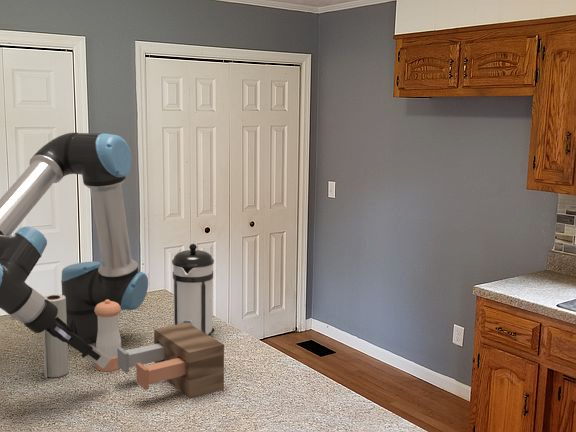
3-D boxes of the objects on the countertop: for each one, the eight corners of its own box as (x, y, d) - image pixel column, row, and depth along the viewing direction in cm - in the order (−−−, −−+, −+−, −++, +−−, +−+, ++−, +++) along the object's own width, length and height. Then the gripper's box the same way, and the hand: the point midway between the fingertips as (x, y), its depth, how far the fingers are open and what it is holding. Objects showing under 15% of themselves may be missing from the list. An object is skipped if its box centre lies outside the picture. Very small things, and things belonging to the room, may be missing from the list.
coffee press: (228, 338, 198) (229, 245, 193) (181, 348, 189) (180, 251, 184) (203, 322, 212) (203, 235, 207) (158, 331, 203) (157, 240, 198)
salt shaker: (111, 359, 180) (109, 294, 177) (128, 365, 176) (126, 299, 173) (90, 367, 174) (87, 300, 171) (107, 373, 170) (105, 305, 167)
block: (154, 371, 173) (154, 329, 171) (187, 363, 179) (187, 322, 177) (189, 398, 157) (188, 352, 155) (223, 388, 163) (224, 344, 161)
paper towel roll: (62, 367, 174) (59, 292, 170) (72, 373, 170) (69, 297, 166) (36, 374, 169) (33, 297, 165) (46, 381, 165) (42, 302, 161)
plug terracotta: (136, 382, 155) (136, 363, 154) (187, 369, 163) (187, 351, 162) (145, 390, 151) (144, 370, 150) (196, 376, 159) (196, 357, 158)
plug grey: (117, 366, 164) (117, 348, 163) (167, 354, 173) (166, 337, 172) (125, 372, 160) (124, 354, 160) (175, 360, 169) (175, 343, 168)
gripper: (15, 316, 151) (87, 366, 163) (30, 332, 140) (105, 384, 153) (37, 291, 153) (106, 343, 166) (53, 305, 143) (125, 359, 155)
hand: (105, 363), depth 159 cm, fingers closed
